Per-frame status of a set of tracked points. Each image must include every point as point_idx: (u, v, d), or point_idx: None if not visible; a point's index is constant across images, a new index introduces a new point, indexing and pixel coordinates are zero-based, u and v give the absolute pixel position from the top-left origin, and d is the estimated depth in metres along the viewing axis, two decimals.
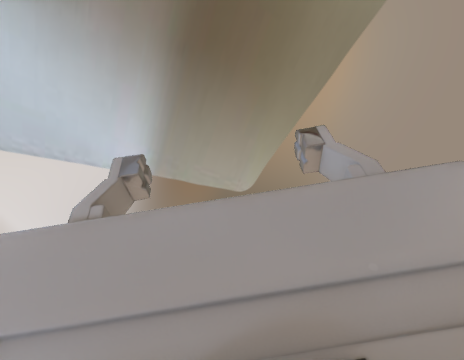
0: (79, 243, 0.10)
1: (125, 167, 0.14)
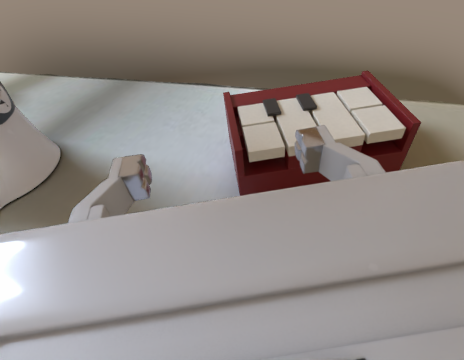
0: (79, 243, 0.10)
1: (125, 167, 0.14)
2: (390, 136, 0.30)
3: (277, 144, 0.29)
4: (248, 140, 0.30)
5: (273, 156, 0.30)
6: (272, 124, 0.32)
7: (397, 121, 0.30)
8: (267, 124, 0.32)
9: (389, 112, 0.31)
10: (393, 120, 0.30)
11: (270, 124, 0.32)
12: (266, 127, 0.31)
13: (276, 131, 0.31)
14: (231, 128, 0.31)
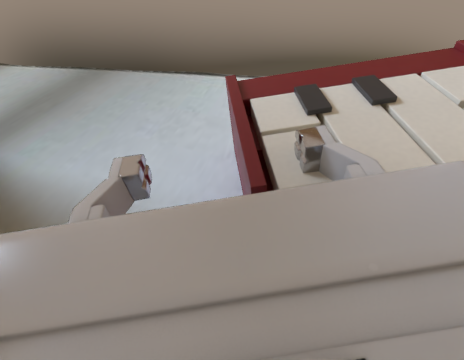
0: (79, 243, 0.10)
1: (125, 167, 0.14)
2: None
3: None
4: (275, 163, 0.15)
5: None
6: None
7: None
8: None
9: None
10: None
11: None
12: None
13: None
14: (241, 138, 0.16)
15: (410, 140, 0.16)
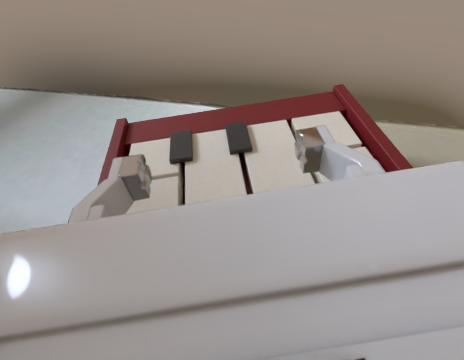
0: (79, 243, 0.10)
1: (125, 167, 0.14)
2: None
3: None
4: None
5: None
6: (172, 181, 0.18)
7: None
8: (163, 180, 0.19)
9: None
10: None
11: (168, 181, 0.18)
12: (160, 187, 0.18)
13: (173, 196, 0.17)
14: None
15: (243, 194, 0.17)
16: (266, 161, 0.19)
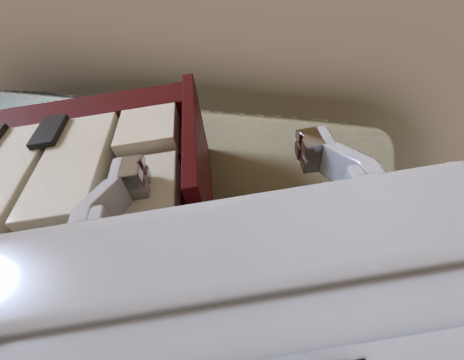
0: (79, 243, 0.10)
1: (125, 167, 0.14)
2: None
3: None
4: None
5: None
6: None
7: (169, 189, 0.15)
8: None
9: (171, 167, 0.16)
10: (164, 186, 0.15)
11: None
12: None
13: None
14: None
15: (9, 194, 0.15)
16: (60, 157, 0.17)
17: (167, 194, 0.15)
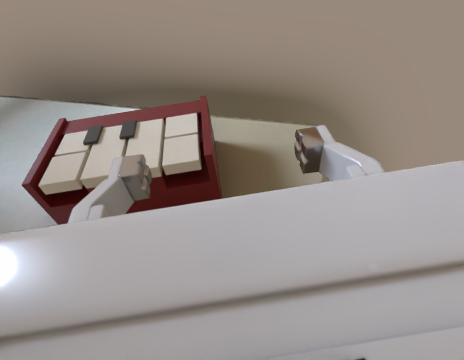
0: (79, 243, 0.10)
1: (125, 167, 0.14)
2: (187, 168, 0.29)
3: (70, 177, 0.29)
4: (46, 172, 0.30)
5: (68, 188, 0.29)
6: (81, 154, 0.31)
7: (196, 152, 0.29)
8: (77, 154, 0.31)
9: (196, 142, 0.31)
10: (193, 151, 0.29)
11: (79, 154, 0.31)
12: (73, 157, 0.31)
13: (79, 162, 0.30)
14: (37, 159, 0.31)
15: None
16: (139, 143, 0.32)
17: (195, 154, 0.29)
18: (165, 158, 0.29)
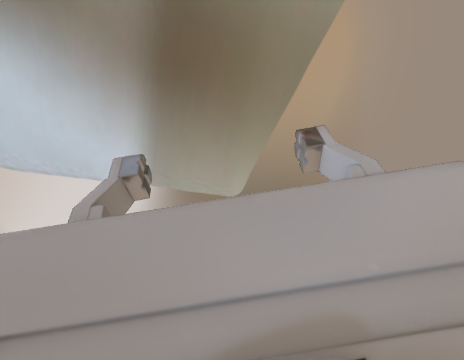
0: (79, 243, 0.10)
1: (125, 167, 0.14)
2: None
3: None
4: None
5: None
6: None
7: None
8: None
9: None
10: None
11: None
12: None
13: None
14: None
15: None
16: None
17: None
18: None
